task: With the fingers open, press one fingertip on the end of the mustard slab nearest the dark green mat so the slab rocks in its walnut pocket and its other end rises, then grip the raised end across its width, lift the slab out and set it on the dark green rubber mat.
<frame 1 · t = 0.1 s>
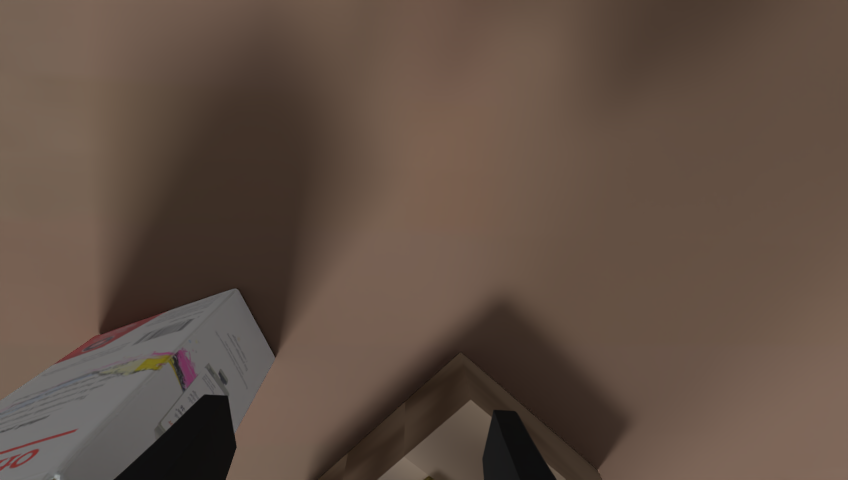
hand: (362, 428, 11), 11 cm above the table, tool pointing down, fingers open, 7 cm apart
ink cartridge box: (192, 345, 22), on the table
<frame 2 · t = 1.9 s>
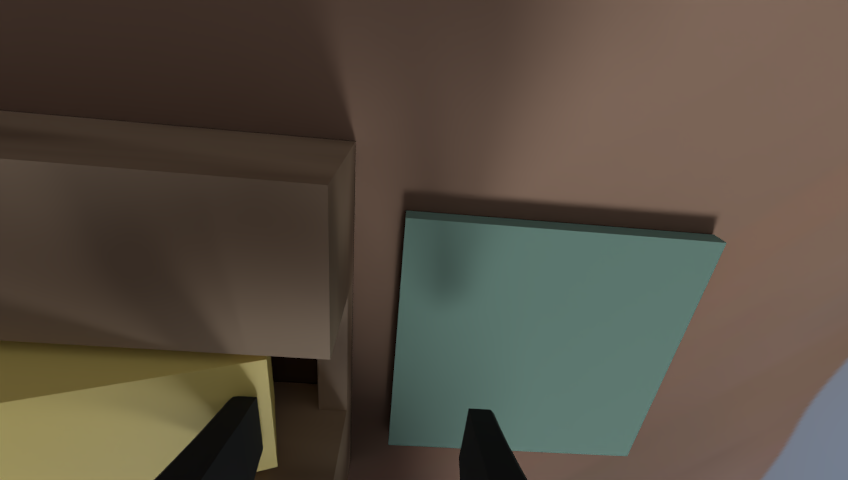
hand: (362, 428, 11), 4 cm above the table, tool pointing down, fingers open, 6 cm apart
slab: (128, 372, 12), point 2 cm above the table, tilted 19°, touching gripper, pocket board
pocket board: (170, 323, 14), on the table
mat: (530, 345, 15), on the table
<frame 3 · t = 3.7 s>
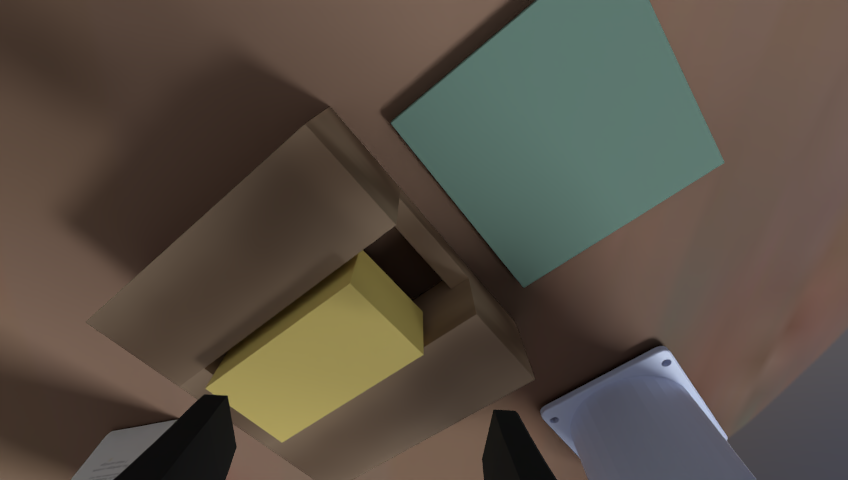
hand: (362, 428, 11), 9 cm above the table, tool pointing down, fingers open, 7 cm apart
slab: (326, 327, 19), point 2 cm above the table, touching pocket board
ink cartridge box: (179, 463, 26), on the table
pocket board: (335, 300, 20), on the table
mat: (557, 140, 17), on the table
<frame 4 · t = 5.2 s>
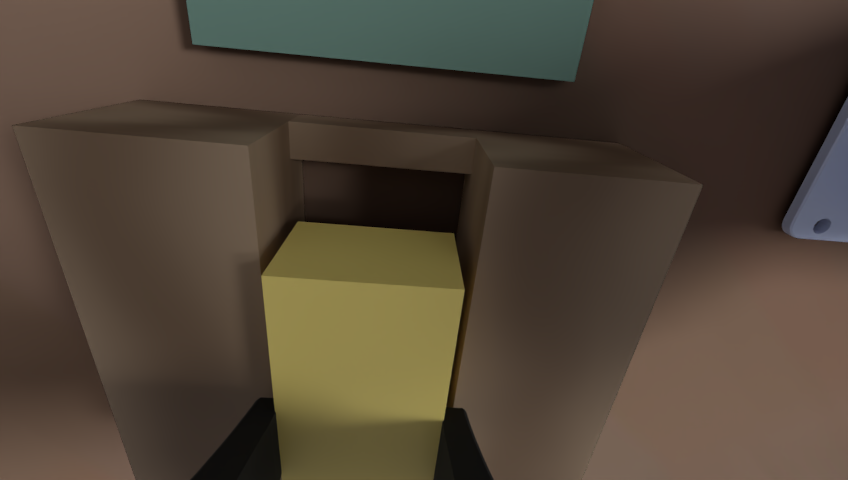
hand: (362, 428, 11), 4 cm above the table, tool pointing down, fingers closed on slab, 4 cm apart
slab: (371, 343, 13), point 2 cm above the table, touching gripper, pocket board
pocket board: (377, 302, 15), on the table
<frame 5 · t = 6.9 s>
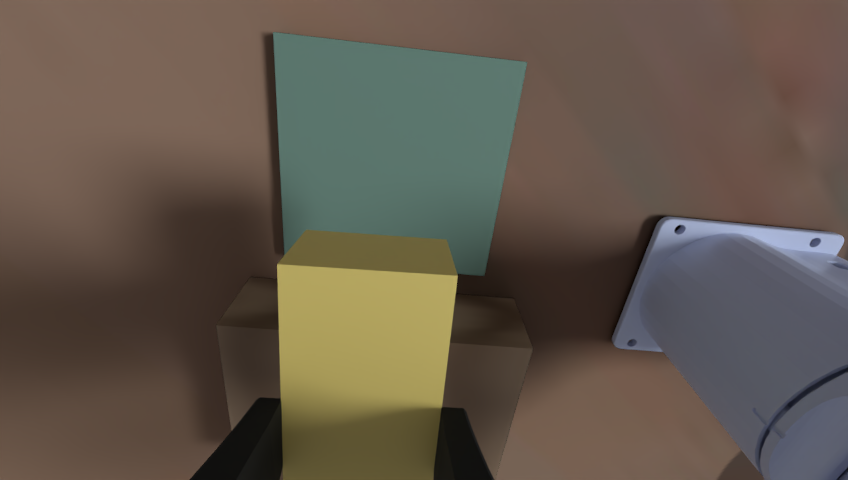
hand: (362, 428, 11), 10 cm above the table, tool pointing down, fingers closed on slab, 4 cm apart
slab: (371, 350, 13), point 8 cm above the table, tilted 8°, touching gripper
pocket board: (377, 377, 24), on the table
mat: (393, 167, 18), on the table
when the fingers open (5 cm above the table, at t = 8.6 s): slab drops 2 cm, resting on mat.
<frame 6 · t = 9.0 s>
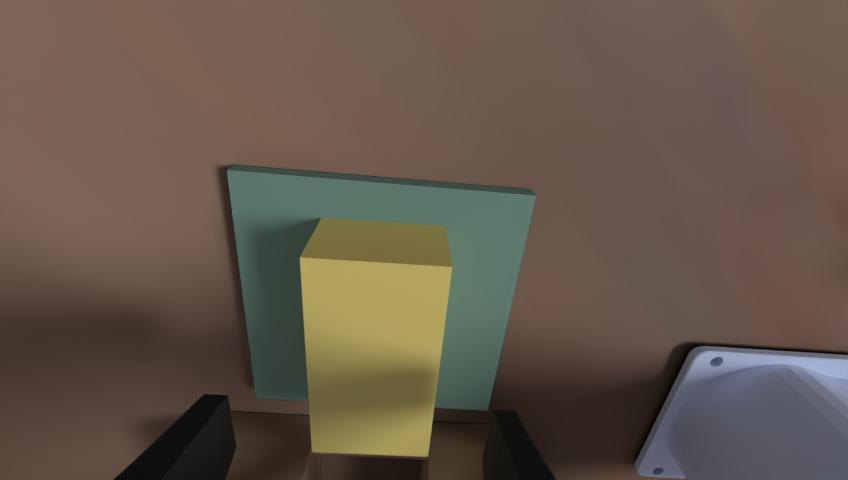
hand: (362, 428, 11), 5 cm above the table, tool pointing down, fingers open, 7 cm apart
slab: (380, 317, 15), point 1 cm above the table, touching mat
mat: (379, 300, 16), on the table
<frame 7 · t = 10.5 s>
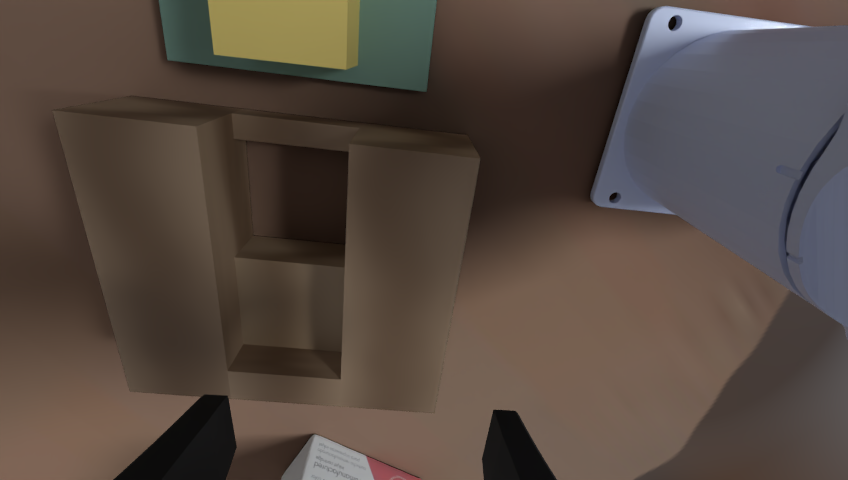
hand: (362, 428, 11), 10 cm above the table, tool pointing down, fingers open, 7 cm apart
ink cartridge box: (353, 471, 28), on the table
pocket board: (305, 249, 20), on the table
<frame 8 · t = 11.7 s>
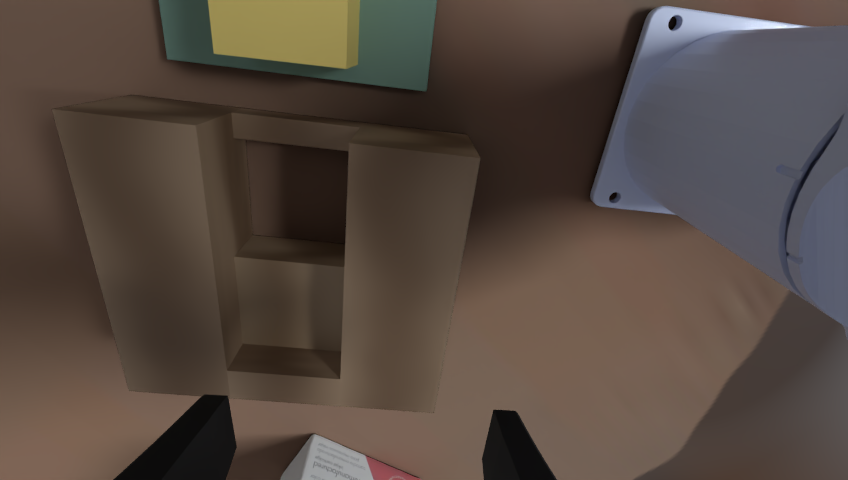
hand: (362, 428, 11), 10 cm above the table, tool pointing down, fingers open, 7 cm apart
ink cartridge box: (353, 471, 28), on the table
pocket board: (305, 249, 20), on the table
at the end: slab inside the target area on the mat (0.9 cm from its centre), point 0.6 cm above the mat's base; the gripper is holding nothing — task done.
